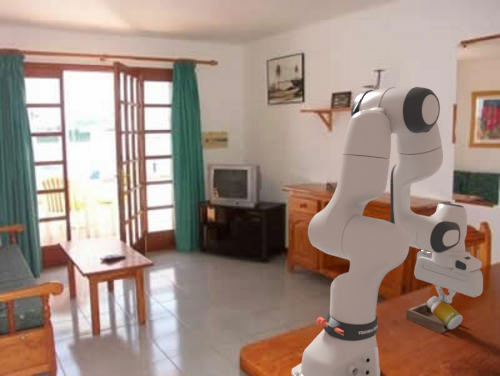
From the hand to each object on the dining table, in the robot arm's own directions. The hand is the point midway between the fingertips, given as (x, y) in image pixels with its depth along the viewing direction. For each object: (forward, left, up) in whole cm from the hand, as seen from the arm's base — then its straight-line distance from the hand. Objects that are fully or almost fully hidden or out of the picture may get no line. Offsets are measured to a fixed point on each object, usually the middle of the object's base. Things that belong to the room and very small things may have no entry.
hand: (445, 301), depth 135 cm
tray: (0, +3, -8) cm, 8 cm away
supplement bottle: (0, -4, -5) cm, 7 cm away
